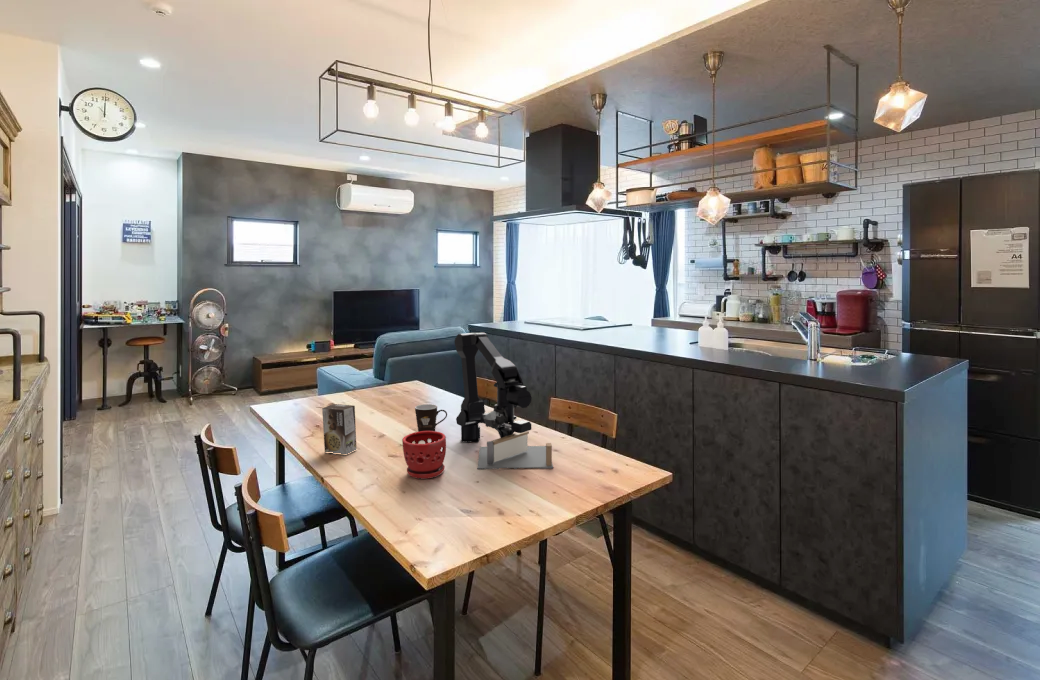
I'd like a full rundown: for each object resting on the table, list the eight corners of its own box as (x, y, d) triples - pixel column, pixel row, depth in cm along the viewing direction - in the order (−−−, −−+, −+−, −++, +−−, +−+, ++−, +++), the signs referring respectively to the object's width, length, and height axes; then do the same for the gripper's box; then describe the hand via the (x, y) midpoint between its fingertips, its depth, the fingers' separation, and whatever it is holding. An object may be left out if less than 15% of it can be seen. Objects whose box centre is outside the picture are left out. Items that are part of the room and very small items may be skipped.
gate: (490, 464, 176) (490, 443, 175) (485, 463, 177) (485, 442, 176) (528, 450, 190) (529, 431, 189) (524, 449, 191) (524, 429, 190)
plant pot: (408, 466, 178) (407, 430, 176) (449, 466, 177) (448, 430, 176) (398, 481, 165) (397, 442, 163) (442, 482, 164) (441, 443, 163)
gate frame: (477, 469, 175) (477, 447, 174) (479, 448, 196) (479, 428, 195) (553, 468, 176) (553, 446, 175) (547, 447, 197) (547, 428, 196)
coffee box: (357, 450, 193) (355, 405, 191) (346, 456, 187) (344, 409, 185) (335, 447, 196) (333, 403, 194) (323, 453, 190) (321, 407, 188)
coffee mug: (411, 433, 213) (410, 408, 211) (423, 427, 221) (422, 403, 219) (437, 437, 208) (436, 411, 207) (448, 431, 216) (448, 406, 215)
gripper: (468, 401, 185) (468, 446, 187) (510, 411, 173) (509, 459, 175) (492, 395, 194) (491, 438, 196) (532, 404, 181) (532, 450, 183)
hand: (505, 446), depth 187 cm, fingers closed
